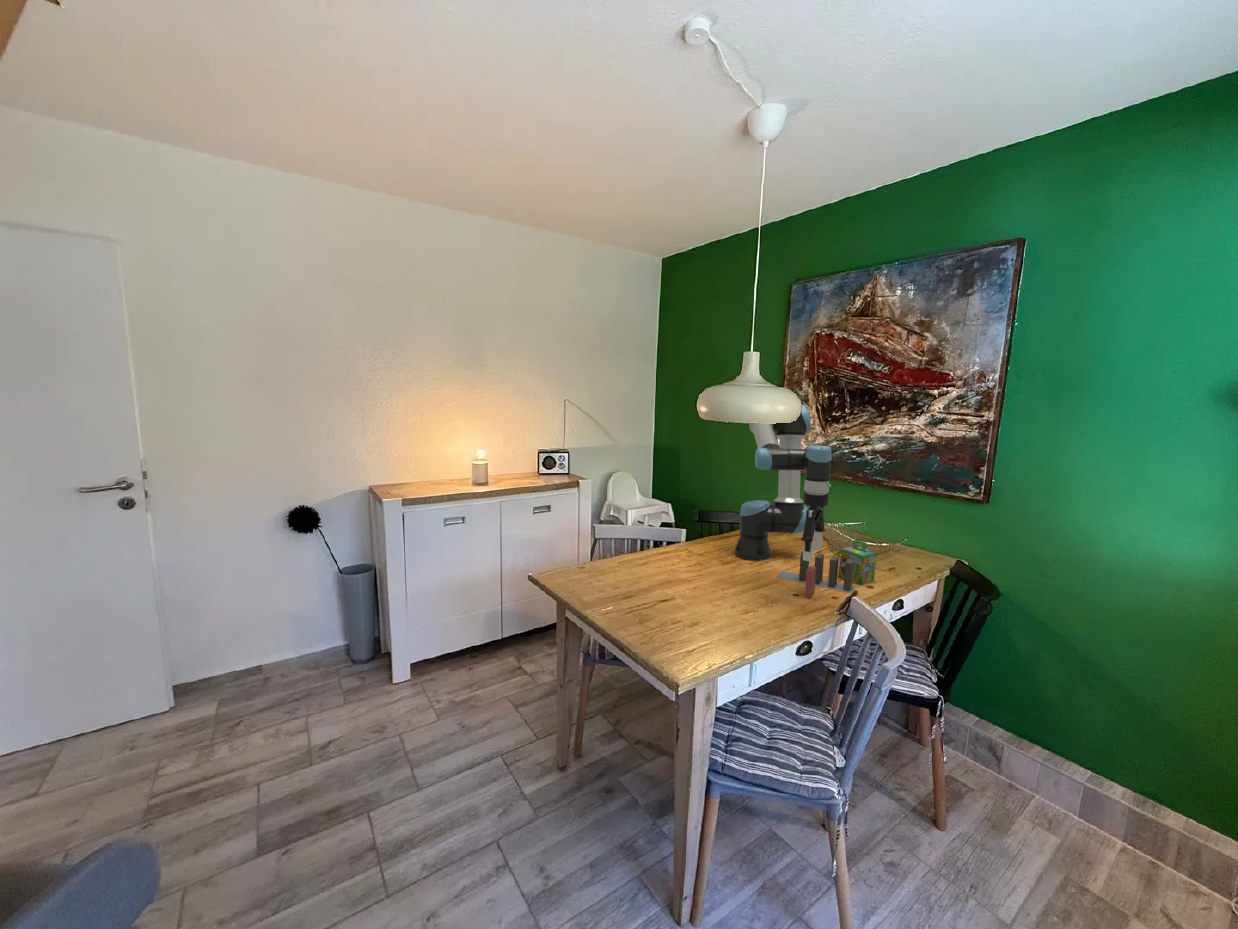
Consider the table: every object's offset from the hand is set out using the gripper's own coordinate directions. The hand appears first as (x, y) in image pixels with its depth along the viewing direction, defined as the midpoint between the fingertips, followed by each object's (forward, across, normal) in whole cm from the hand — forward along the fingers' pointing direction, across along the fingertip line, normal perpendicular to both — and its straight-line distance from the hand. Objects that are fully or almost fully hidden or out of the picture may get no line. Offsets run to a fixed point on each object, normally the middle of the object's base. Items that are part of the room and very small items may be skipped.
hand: (812, 555), depth 158 cm
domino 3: (+14, +15, +1) cm, 21 cm away
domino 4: (+14, +15, -4) cm, 21 cm away
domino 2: (+15, 0, 0) cm, 15 cm away
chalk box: (+15, +26, -10) cm, 32 cm away
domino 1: (+14, +15, +6) cm, 21 cm away
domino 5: (+14, +15, -9) cm, 23 cm away
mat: (+15, +15, +2) cm, 21 cm away
